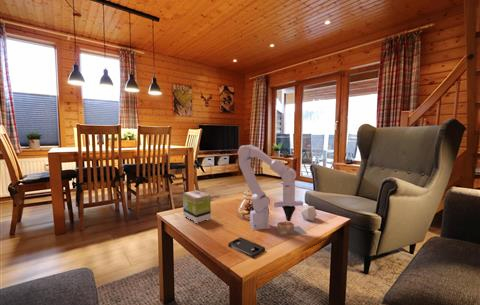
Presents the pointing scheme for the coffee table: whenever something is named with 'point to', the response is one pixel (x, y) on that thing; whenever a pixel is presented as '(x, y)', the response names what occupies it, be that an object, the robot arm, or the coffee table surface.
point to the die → (309, 213)
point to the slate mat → (297, 231)
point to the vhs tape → (246, 247)
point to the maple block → (285, 227)
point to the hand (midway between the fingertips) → (288, 220)
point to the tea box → (197, 206)
